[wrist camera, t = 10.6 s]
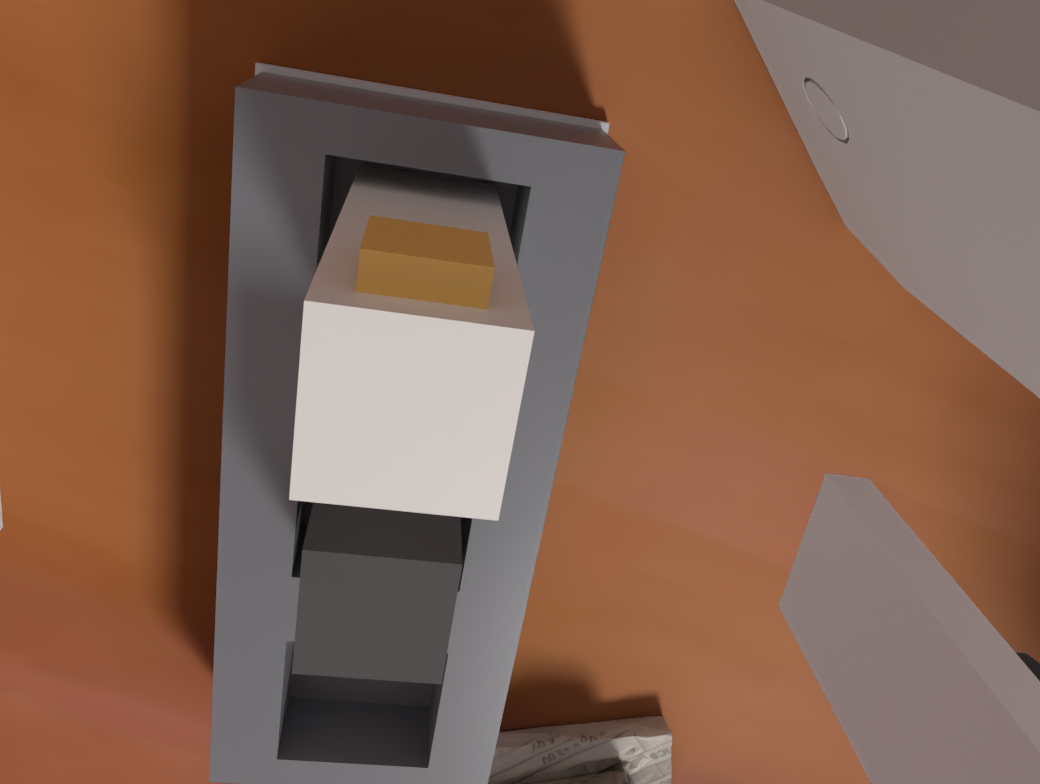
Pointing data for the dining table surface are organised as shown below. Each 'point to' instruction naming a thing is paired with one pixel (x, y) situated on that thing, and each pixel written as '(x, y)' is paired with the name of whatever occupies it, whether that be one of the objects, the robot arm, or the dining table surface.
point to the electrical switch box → (926, 147)
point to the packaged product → (586, 753)
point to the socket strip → (272, 406)
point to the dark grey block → (377, 594)
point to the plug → (412, 351)
